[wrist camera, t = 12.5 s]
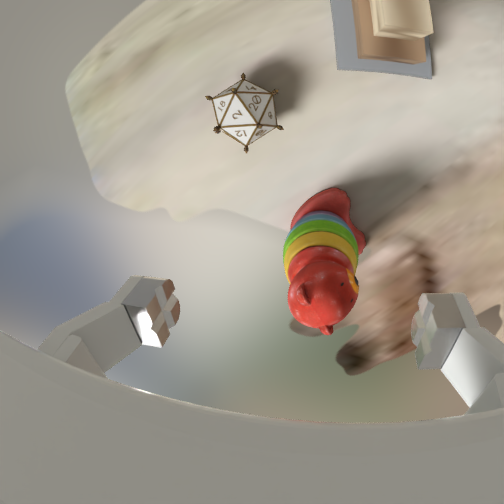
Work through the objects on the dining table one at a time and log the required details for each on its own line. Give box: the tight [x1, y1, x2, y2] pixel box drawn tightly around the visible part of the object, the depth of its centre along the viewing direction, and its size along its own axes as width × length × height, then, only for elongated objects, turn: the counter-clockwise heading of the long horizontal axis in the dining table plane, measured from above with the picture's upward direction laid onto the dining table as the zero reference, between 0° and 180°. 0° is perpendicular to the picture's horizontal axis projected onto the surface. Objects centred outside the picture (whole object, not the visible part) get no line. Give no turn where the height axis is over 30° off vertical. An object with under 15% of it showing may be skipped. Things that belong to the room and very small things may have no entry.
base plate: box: [330, 0, 432, 79], centre depth 25 cm, size 12×12×1 cm
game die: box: [205, 73, 284, 153], centre depth 32 cm, size 9×8×10 cm
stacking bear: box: [283, 188, 366, 335], centre depth 34 cm, size 11×10×18 cm
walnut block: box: [351, 0, 426, 65], centre depth 22 cm, size 7×9×5 cm
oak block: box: [369, 0, 434, 41], centre depth 18 cm, size 4×4×6 cm
